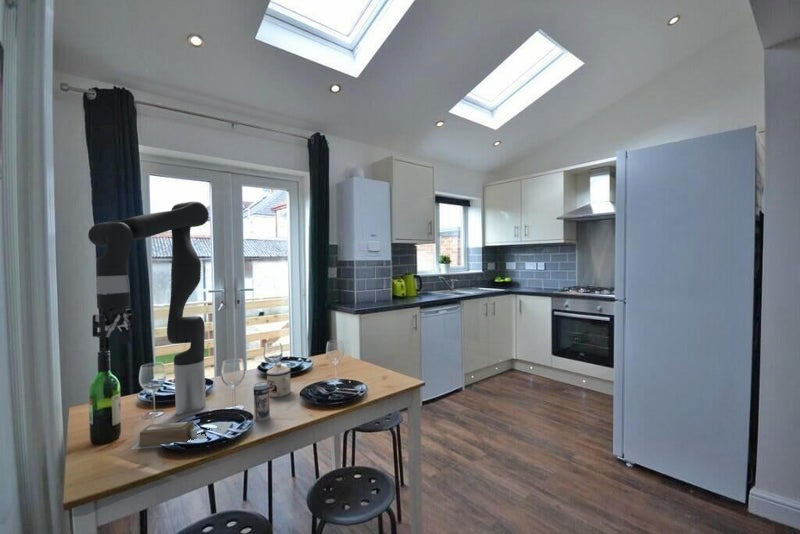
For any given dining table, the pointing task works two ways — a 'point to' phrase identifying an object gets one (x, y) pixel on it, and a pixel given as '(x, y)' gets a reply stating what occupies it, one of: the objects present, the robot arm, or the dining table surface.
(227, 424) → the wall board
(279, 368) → the teacup with lid
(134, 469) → the dining table surface
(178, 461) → the dining table surface
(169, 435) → the brown rectangular block
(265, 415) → the beer can
